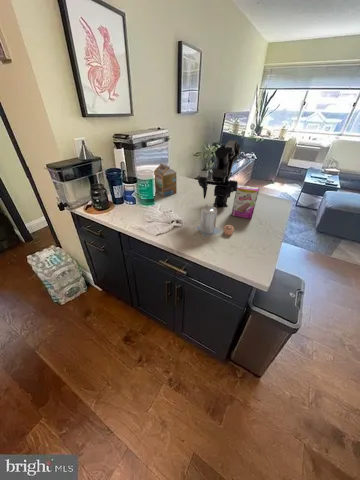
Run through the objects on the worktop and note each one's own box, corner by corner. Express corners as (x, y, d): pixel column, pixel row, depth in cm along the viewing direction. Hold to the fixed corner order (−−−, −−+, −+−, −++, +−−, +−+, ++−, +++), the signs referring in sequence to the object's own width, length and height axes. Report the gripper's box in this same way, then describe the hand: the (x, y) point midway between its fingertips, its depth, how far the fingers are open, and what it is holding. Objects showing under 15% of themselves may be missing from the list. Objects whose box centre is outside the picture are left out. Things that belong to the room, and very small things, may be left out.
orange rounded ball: (229, 230, 98) (230, 224, 96) (234, 235, 95) (235, 228, 92) (221, 232, 97) (222, 226, 94) (226, 237, 93) (227, 230, 91)
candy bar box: (230, 216, 110) (236, 187, 100) (232, 212, 114) (237, 184, 104) (251, 219, 107) (259, 190, 97) (252, 215, 111) (259, 187, 101)
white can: (210, 225, 101) (212, 204, 94) (217, 232, 95) (220, 211, 89) (197, 228, 98) (198, 207, 92) (204, 235, 93) (206, 214, 86)
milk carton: (155, 191, 138) (153, 163, 127) (168, 188, 143) (167, 161, 132) (163, 196, 131) (162, 167, 120) (176, 193, 136) (176, 164, 125)
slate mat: (212, 223, 103) (212, 223, 103) (221, 233, 96) (222, 232, 95) (195, 227, 100) (195, 226, 100) (204, 237, 93) (204, 236, 92)
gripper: (200, 159, 92) (191, 189, 90) (241, 163, 86) (233, 196, 84) (203, 171, 102) (196, 199, 101) (240, 175, 97) (233, 205, 95)
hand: (213, 200), depth 95 cm, fingers open, 9 cm apart
